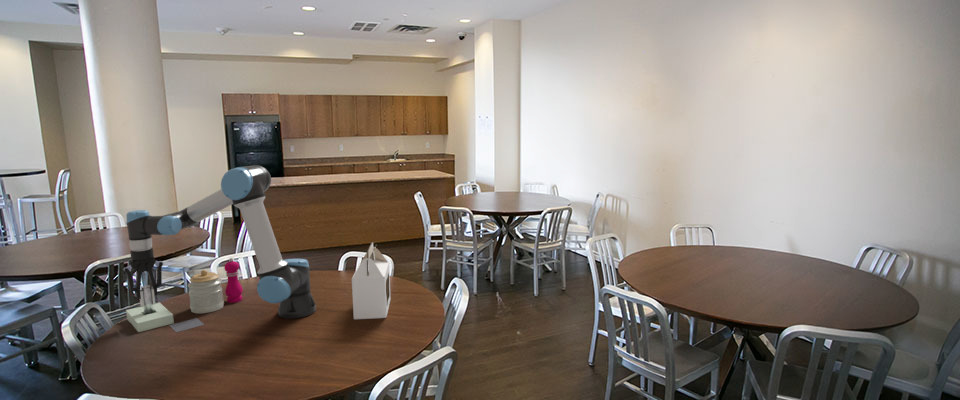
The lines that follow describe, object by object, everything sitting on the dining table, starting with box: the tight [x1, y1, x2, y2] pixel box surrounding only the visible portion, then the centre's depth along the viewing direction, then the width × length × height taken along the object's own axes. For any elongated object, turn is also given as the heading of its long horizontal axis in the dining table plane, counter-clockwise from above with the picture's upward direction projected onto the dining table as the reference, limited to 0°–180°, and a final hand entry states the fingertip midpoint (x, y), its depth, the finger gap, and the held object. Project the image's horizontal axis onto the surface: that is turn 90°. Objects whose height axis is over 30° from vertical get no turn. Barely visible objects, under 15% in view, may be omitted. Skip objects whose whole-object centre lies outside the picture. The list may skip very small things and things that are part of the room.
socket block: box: [125, 302, 175, 333], centre depth 200 cm, size 20×12×4 cm, turn 46°
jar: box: [187, 269, 225, 314], centre depth 213 cm, size 13×13×18 cm
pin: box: [140, 284, 154, 315], centre depth 199 cm, size 3×3×12 cm
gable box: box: [351, 242, 391, 320], centre depth 209 cm, size 22×13×28 cm, turn 6°
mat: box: [168, 317, 205, 333], centre depth 196 cm, size 10×10×1 cm
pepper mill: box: [223, 257, 244, 304], centre depth 222 cm, size 7×7×20 cm
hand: (148, 304), depth 199 cm, fingers closed on pin, 3 cm apart
